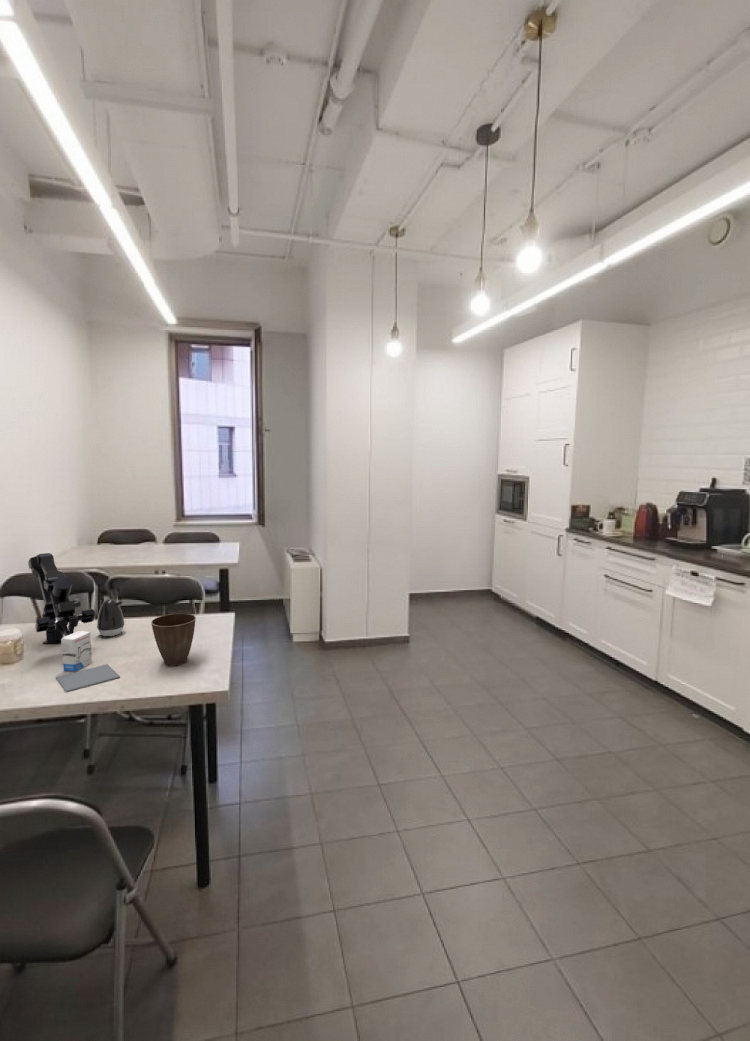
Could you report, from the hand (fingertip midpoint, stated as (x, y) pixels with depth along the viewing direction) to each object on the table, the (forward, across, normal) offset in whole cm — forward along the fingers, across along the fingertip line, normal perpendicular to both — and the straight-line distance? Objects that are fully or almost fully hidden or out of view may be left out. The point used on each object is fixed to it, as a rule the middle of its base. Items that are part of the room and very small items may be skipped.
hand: (71, 639), depth 187 cm
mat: (+20, 0, -9) cm, 22 cm away
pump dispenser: (-8, +19, +20) cm, 28 cm away
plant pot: (+24, +27, -13) cm, 39 cm away
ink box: (+11, 0, 0) cm, 11 cm away
